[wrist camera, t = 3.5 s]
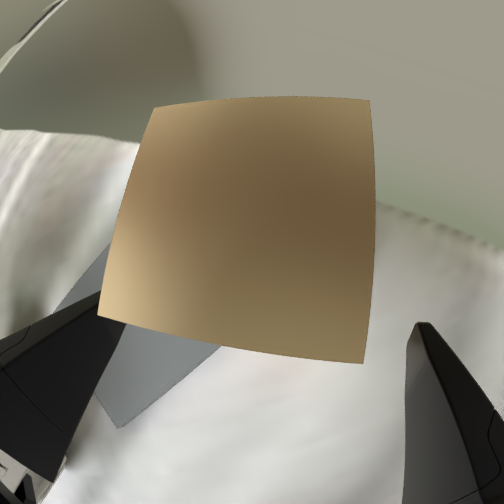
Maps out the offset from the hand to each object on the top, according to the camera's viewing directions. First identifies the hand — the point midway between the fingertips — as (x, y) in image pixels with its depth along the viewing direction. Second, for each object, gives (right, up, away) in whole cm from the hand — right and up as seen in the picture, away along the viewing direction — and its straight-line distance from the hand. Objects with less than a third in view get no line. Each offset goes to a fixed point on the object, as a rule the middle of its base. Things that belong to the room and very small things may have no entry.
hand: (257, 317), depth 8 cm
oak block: (+2, 0, +9) cm, 10 cm away
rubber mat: (-9, -4, +11) cm, 15 cm away
